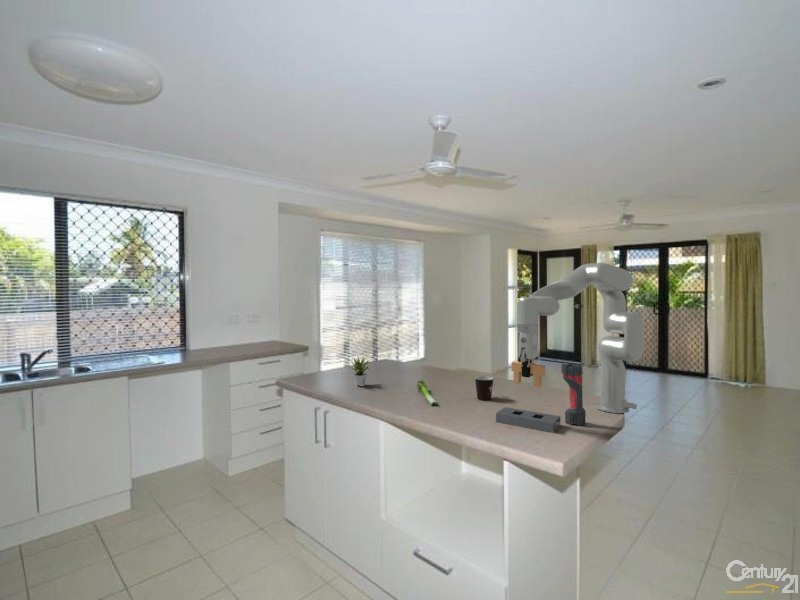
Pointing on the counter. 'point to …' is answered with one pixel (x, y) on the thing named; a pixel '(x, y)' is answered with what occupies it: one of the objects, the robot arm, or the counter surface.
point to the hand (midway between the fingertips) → (527, 375)
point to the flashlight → (574, 394)
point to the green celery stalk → (426, 392)
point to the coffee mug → (484, 387)
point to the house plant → (360, 371)
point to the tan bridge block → (534, 369)
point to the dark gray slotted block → (528, 419)
